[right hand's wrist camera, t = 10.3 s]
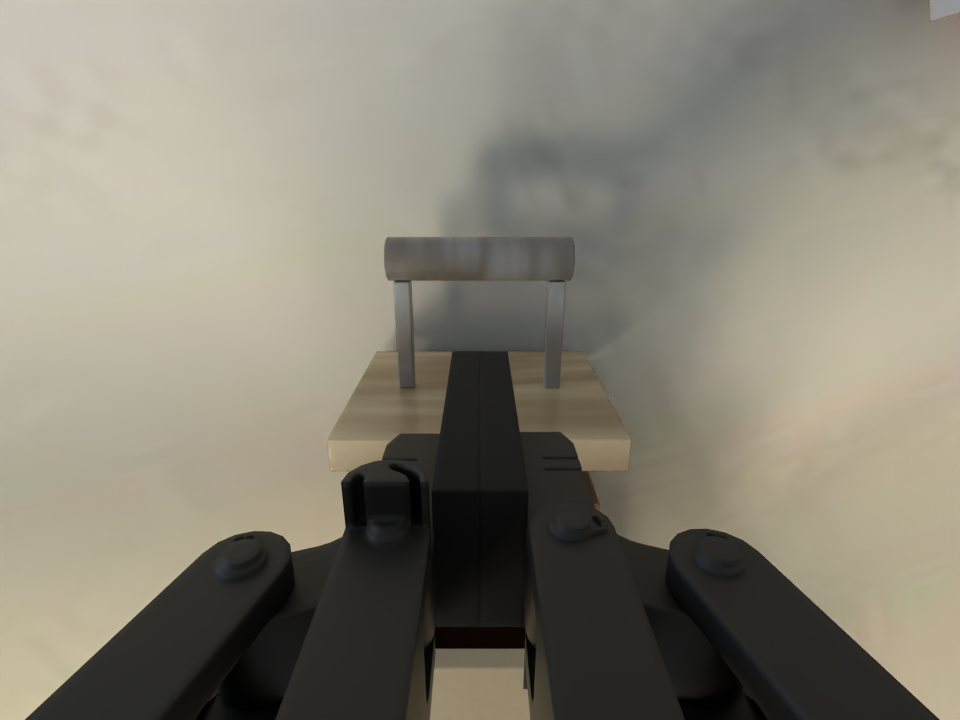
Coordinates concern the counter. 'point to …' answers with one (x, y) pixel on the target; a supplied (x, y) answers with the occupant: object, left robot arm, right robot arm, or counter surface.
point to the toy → (943, 8)
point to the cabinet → (479, 685)
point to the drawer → (535, 374)
